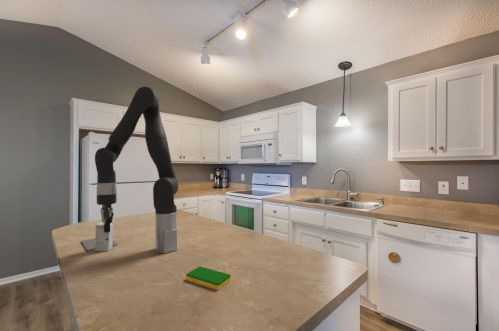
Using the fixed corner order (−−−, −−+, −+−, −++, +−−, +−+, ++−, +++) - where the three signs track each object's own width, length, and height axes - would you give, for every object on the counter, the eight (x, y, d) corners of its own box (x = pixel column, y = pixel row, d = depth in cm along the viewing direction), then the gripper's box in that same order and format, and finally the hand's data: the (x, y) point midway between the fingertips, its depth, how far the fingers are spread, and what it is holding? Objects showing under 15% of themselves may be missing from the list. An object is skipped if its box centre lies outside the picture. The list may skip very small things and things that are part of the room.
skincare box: (94, 251, 105) (94, 225, 104) (99, 246, 110) (99, 221, 109) (108, 251, 106) (109, 225, 105) (113, 247, 110) (113, 222, 110)
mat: (117, 245, 114) (117, 244, 114) (87, 251, 106) (87, 250, 106) (107, 236, 128) (107, 235, 128) (81, 241, 119) (81, 240, 119)
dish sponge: (199, 272, 85) (199, 265, 85) (231, 281, 78) (231, 274, 78) (185, 281, 79) (185, 273, 79) (218, 291, 72) (218, 283, 72)
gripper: (120, 193, 101) (120, 233, 101) (112, 191, 111) (112, 227, 111) (100, 195, 96) (100, 237, 96) (93, 192, 105) (93, 230, 105)
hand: (107, 232), depth 103 cm, fingers closed
